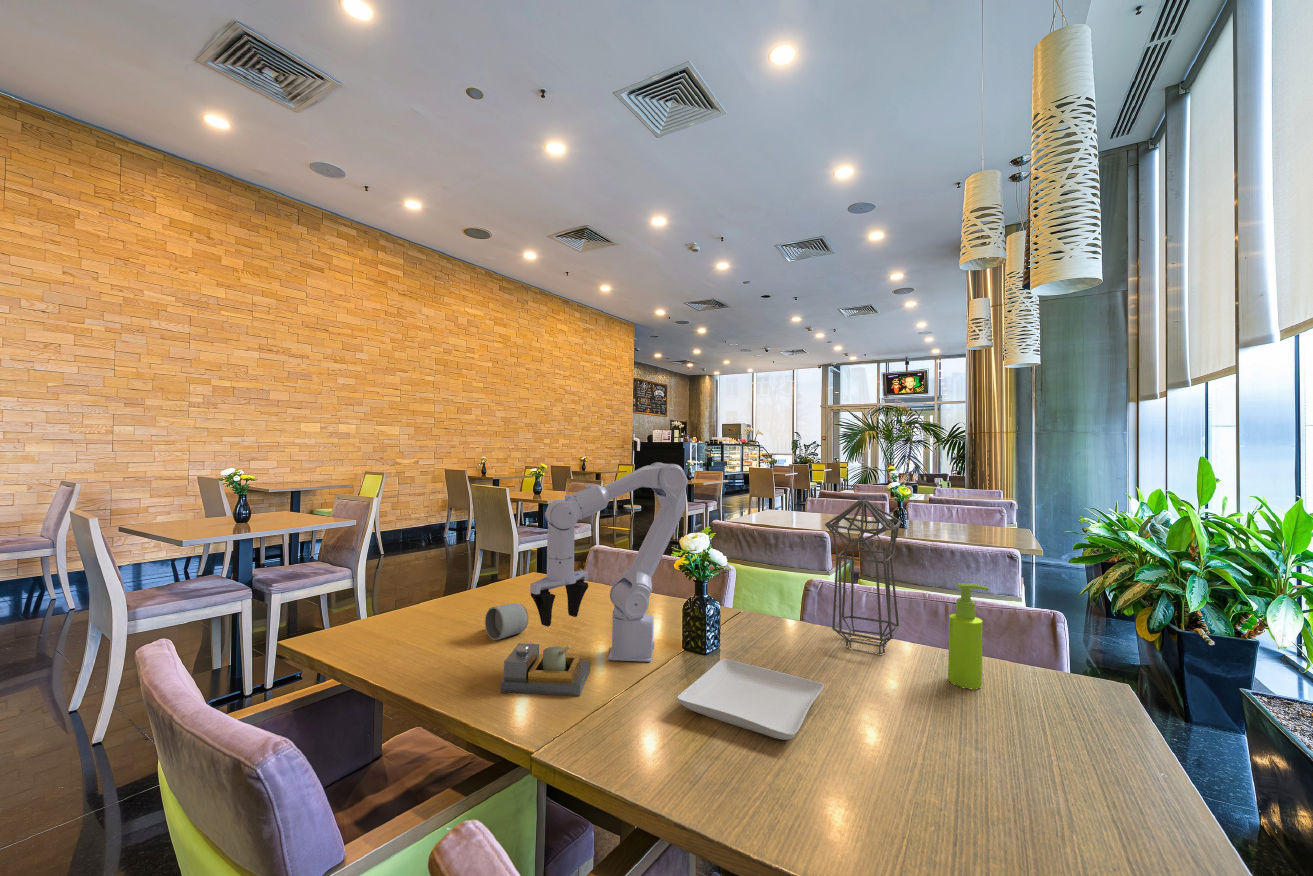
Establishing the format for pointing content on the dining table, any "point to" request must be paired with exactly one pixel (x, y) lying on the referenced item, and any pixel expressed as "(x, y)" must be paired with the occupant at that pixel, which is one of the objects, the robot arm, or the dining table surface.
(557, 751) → the dining table surface
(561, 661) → the spout can
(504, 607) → the grey hollow cylinder
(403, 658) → the dining table surface
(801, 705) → the salad plate
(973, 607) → the soap dispenser
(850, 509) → the geometric lantern
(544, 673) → the assembly fixture
